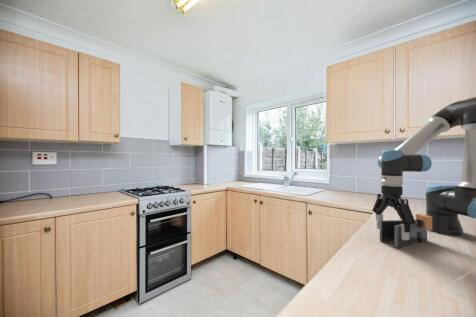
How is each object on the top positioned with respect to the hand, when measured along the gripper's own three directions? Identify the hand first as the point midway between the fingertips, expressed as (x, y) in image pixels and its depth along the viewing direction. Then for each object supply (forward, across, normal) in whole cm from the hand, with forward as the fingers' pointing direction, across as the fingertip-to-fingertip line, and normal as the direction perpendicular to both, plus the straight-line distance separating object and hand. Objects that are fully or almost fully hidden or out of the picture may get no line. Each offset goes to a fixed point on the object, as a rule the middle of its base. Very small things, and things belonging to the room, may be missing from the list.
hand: (391, 233), depth 92 cm
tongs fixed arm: (+3, 0, +6) cm, 7 cm away
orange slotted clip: (-2, 0, +15) cm, 15 cm away
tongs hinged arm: (+3, +4, +4) cm, 6 cm away
